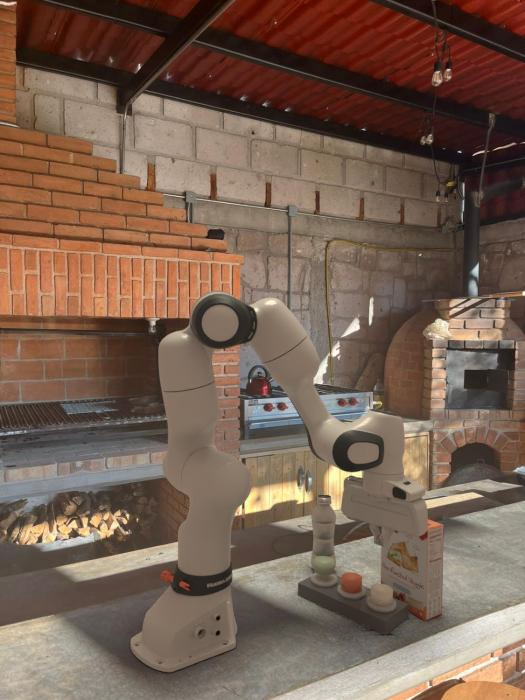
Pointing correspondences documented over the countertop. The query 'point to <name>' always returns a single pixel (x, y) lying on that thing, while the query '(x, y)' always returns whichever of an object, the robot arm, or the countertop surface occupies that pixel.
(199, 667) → the countertop surface
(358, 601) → the button panel
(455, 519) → the countertop surface
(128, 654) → the countertop surface
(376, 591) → the button cream
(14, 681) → the countertop surface
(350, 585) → the button orange
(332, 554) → the plastic bottle
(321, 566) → the button sage
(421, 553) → the cracker box
